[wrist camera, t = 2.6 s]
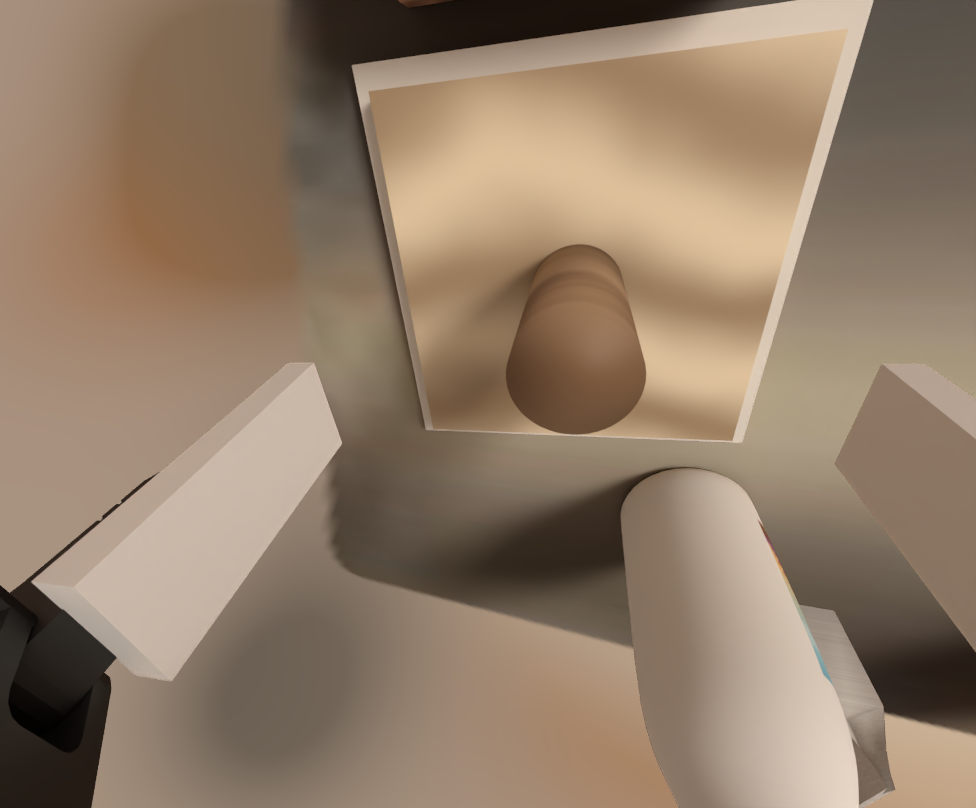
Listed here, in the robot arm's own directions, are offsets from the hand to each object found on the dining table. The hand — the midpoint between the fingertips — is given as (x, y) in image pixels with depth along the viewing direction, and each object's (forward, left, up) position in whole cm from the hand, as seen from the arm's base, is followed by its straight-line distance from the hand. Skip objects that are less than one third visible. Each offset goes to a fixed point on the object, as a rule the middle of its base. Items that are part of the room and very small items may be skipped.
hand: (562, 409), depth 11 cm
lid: (0, 0, -11) cm, 11 cm away
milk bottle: (-15, -7, -12) cm, 21 cm away
